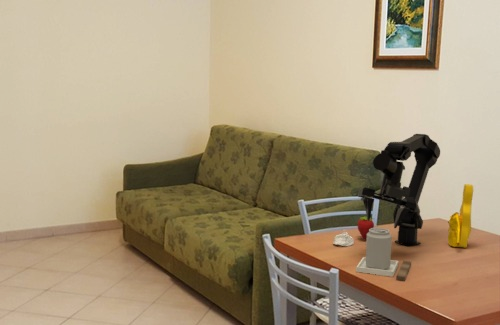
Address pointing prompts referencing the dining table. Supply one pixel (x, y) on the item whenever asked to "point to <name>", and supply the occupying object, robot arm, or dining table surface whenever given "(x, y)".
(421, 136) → the robot arm
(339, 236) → the whipped cream
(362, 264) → the tray
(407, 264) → the strip
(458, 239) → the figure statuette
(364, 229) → the strawberry
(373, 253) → the can
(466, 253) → the dining table surface
